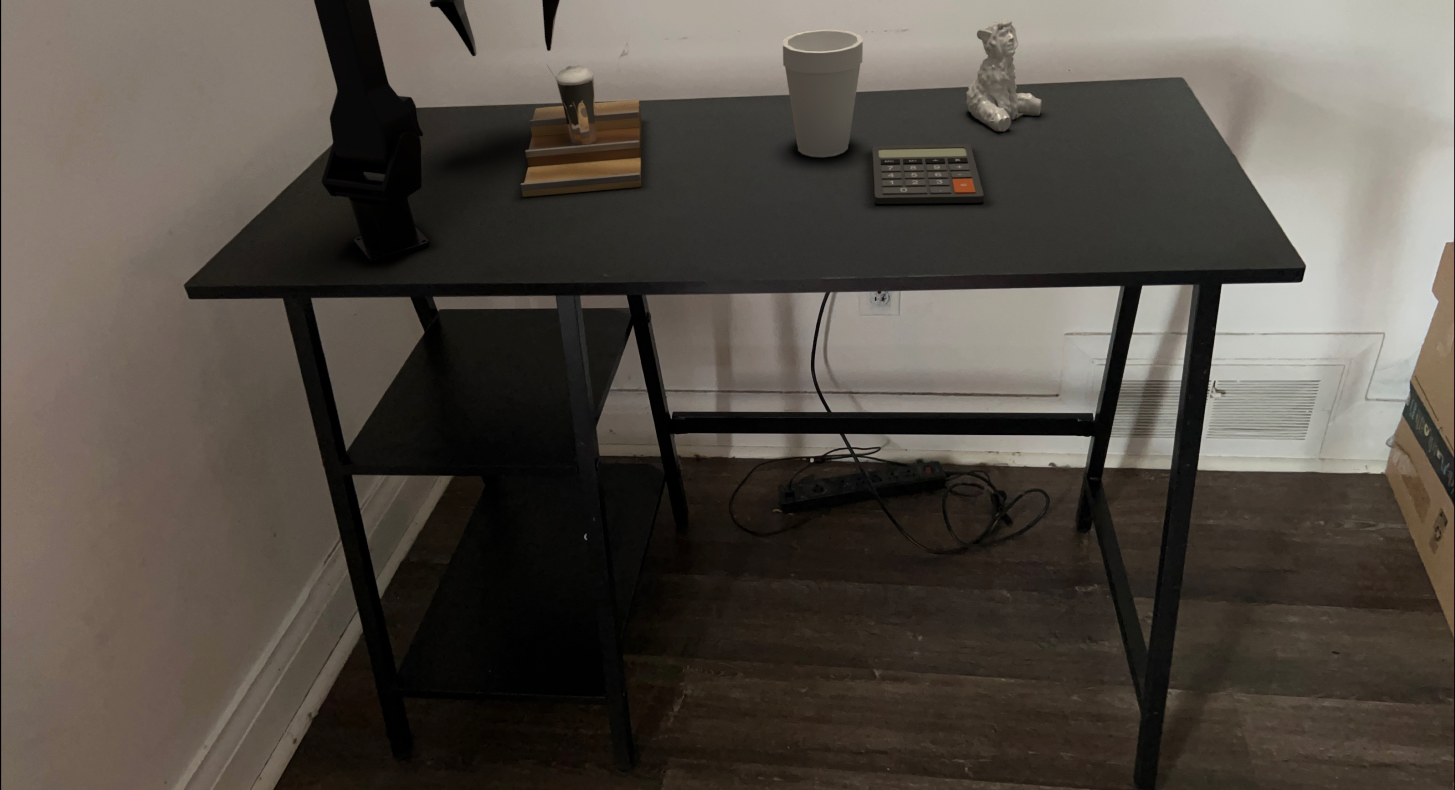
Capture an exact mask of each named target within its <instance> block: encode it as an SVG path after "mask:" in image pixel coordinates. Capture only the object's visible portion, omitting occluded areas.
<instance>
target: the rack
mask: <svg viewBox="0 0 1455 790" xmlns="http://www.w3.org/2000/svg"><path fill="white" fill-rule="evenodd" d="M641 111H642V110H641V105H640V99H630V100H616V101H604V102H595V114H596V127H597V140H596V142H594V143H592V144H589V145H575V144H573V143H572V142H571V138H570V133H569V129H568V125H567V121H566V117H565V112H564V108H563V105H558V106H545V107H536V108H535V110H534V113H533V117H532V119H529V121H528V122H529V127H530V133H531V139H530V143H529V147H528V149H525V151H524V153H525V158H526V164H527V170H526V174H525V179H524V182H521V183H520V189H521V193H522V197H523V198H526V197H527V198H528V197H539V196H550V195H551V196H552V195H562V194H574V193H575V194H576V193H585V192H587V193H588V192H597V191H609V190H619V189H632V188H633V189H634V188H641V187H642V149H643V147H642V144H643V143H642V142H643V141H642V139H643V136H642V135H643V134H642V133H643V132H642V130H643V129H642V128H643V121H642V113H641Z"/></svg>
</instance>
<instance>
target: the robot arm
mask: <svg viewBox="0 0 1455 790" xmlns="http://www.w3.org/2000/svg"><path fill="white" fill-rule="evenodd" d="M429 1H430V2H429V6H430V8H438V9H439V10H440V11H441V12H442V14H443V15H444V16H445V18H446V19H447V20H448V21H449V23H450V24H451V25H452V27H453V28H454V29H455V31H456V32H457V34H458V35H459V37H460V39H461V40H462V42H463V43H464V45H465V47H466V48H467V50H468V52H469V54H471V56H472V57H476V56H477V54H478V53H477V46H476V40H475V37H474V35H473V31H472V27H471V23H470V20H469V17H468V14H467V10H466V6H465V0H429ZM560 1H561V0H541V3H542V18H543V32H544V41H545V42H544V43H545V47H546V51H547V52H551V51H552V46H553V45H552V44H553V39H554V38H553V37H554V33H555V32H554V31H555V25H556V17H557V12H558V8H559V5H560ZM313 3H314V6H315V10H316V13H317V18H318V22H319V25H320V29H321V32H322V33H321V34H322V37H323V40H324V44H325V48H326V52H327V55H328V56H327V57H328V60H329V63H330V67H331V70H332V74H333V78H334V82H335V85H336V95H335V98H334V101H333V104H332V108H331V111H330V114H329V123H330V124H329V125H330V132H331V137H332V145H331V148H330V152H329V154H328V158H327V161H326V164H325V168H324V170H323V175H322V178H321V184H322V185H323V187H324V188H325V190H326V191H327V192H328V194H329V195H330V196H331V197H336V198H337V197H343V198H348V200H349V203H350V206H351V209H352V213H353V216H354V219H355V221H356V225H357V228H358V231H359V235H360V236H357V237H355V238H354V239H353V242H354V244H355V245H356V247H357V248H358V249H359V250H360V251H361V253H362V254H363V256H365V258H366V259H367V260H368V261H369V262H370V263H372V264H374V263H375V264H376V263H378V262H381V261H384V260H387V259H391V258H394V257H397V256H400V255H403V254H406V253H409V252H413V251H416V250H419V249H423V248H426V247H428V246H430V241H429V239H428V238H427V237H426V236H425V235H424V234H423V233H422V232H421V231H420V230H419V229H418V227H416V224H415V221H414V217H413V213H412V210H411V206H410V203H409V199H408V197H410V196H411V195H412V194H414V193H416V192H417V191H419V190H421V189H422V186H423V185H422V184H423V181H422V178H423V177H422V141H421V137H424V132H423V130H422V129H421V127H420V124H419V120H418V114H417V105H416V103H415V101H414V99H413V98H412V97H411V96H403V95H398V94H397V92H396V91H395V90H394V89H393V87H392V86H391V85H390V83H389V80H388V75H387V71H386V67H385V63H384V59H383V55H382V51H381V46H380V42H379V38H378V33H377V29H376V25H375V20H374V16H373V12H372V8H371V4H370V0H313ZM365 173H371V174H379V175H384V177H383V176H376V175H369V174H365Z"/></svg>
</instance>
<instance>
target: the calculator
mask: <svg viewBox="0 0 1455 790" xmlns="http://www.w3.org/2000/svg"><path fill="white" fill-rule="evenodd" d="M872 171H873V172H872V173H873V194H874V195H873V196H874V203H875V204H877V205H898V204H899V205H900V204H901V205H902V204H905V205H907V204H908V205H909V204H972V203H974V204H975V203H977V204H978V203H979V204H980V203H983V202H984V195H985V194H984V190H983V187H982V181H981V179H980V175H979V172H978V168H977V164H976V161H975V156H974V152H973V149H972V145H971V144H969V143H953V144H952V143H951V144H948V143H947V144H904V145H901V144H899V145H873V146H872Z"/></svg>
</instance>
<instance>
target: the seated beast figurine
mask: <svg viewBox="0 0 1455 790" xmlns="http://www.w3.org/2000/svg"><path fill="white" fill-rule="evenodd" d="M1016 30H1017V29H1016V27H1014V26H1013V21H1012V20H1008V19H1007V20H1006V19H1004V18H1002V19H1001V20H999V21H997V22H996V21H995V22H991V23H990V24H988V26H987V27H986V28H985V29H978V30H977V32H976V37H977V39H978V40H980V41H981V42H982V46H983V49H984V51H985V52H984V53H985V54H986V55H987V56H986V58H985V59H983V60H982V62H981V63H980V65H979V69H978V70H977V72H976V73H977V75H976V76H977V77H976V78H975V79H974V80H973V82H972V83H971V85H970V86H968V87H967V91H966V92H965V93H966V102H965V104H966V105H967V107H966V108H967V110H968V112H970V114H971V116H972V117H974V119H976V120H978V121H980V123H982V124H984V125H986V126H987V127H989V128H990V129H992V130H993V131H995V132H1004V133H1005V132H1006V131H1007V130H1008V129H1009V128H1010V127H1011V125H1012V120H1016V119H1018V118H1019V117H1022V116H1023V115H1024V116H1036V117H1038V116H1040V114H1041V111H1042V106H1043V100H1042V99H1040V98H1037V97H1035V96H1034V95H1032V93H1030V92H1027V93H1024V92H1019V93H1017V88H1018V87H1017V85H1016V79H1017V77H1016V72H1015V70H1016V67H1015V64H1014V63H1013V62H1014V60H1015V58H1014V56H1015V54H1016V49H1017V48H1018V46H1019V41H1018V36H1017V31H1016Z"/></svg>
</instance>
